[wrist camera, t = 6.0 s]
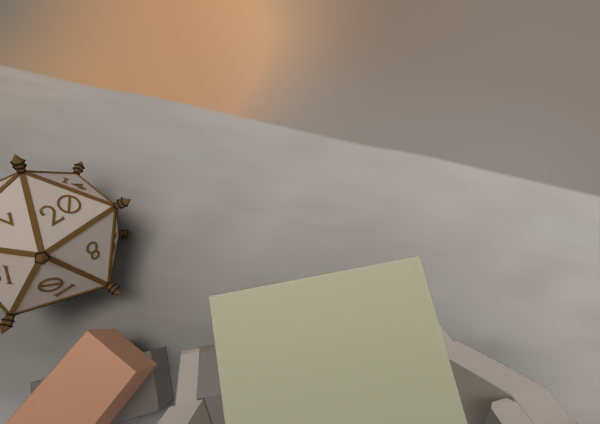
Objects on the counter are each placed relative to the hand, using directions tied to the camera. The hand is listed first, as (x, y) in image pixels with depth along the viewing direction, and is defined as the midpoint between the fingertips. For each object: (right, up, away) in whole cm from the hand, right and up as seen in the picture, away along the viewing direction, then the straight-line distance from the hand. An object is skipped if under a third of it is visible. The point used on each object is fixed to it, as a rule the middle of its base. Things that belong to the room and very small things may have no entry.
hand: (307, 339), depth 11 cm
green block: (0, -2, +5) cm, 5 cm away
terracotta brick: (-11, -6, +8) cm, 15 cm away
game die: (-14, +1, +13) cm, 19 cm away
